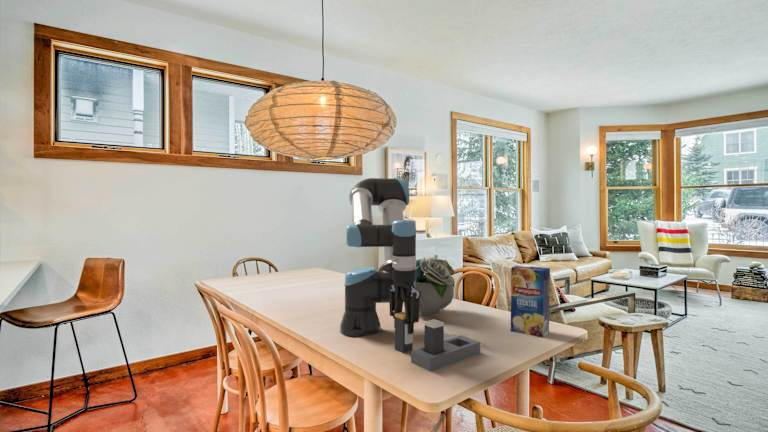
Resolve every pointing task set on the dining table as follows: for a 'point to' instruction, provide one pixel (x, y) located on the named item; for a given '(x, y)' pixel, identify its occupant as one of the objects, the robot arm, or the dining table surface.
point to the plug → (401, 333)
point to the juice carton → (530, 300)
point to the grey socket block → (446, 353)
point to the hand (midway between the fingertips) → (403, 341)
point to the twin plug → (434, 337)
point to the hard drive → (448, 336)
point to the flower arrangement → (434, 285)
